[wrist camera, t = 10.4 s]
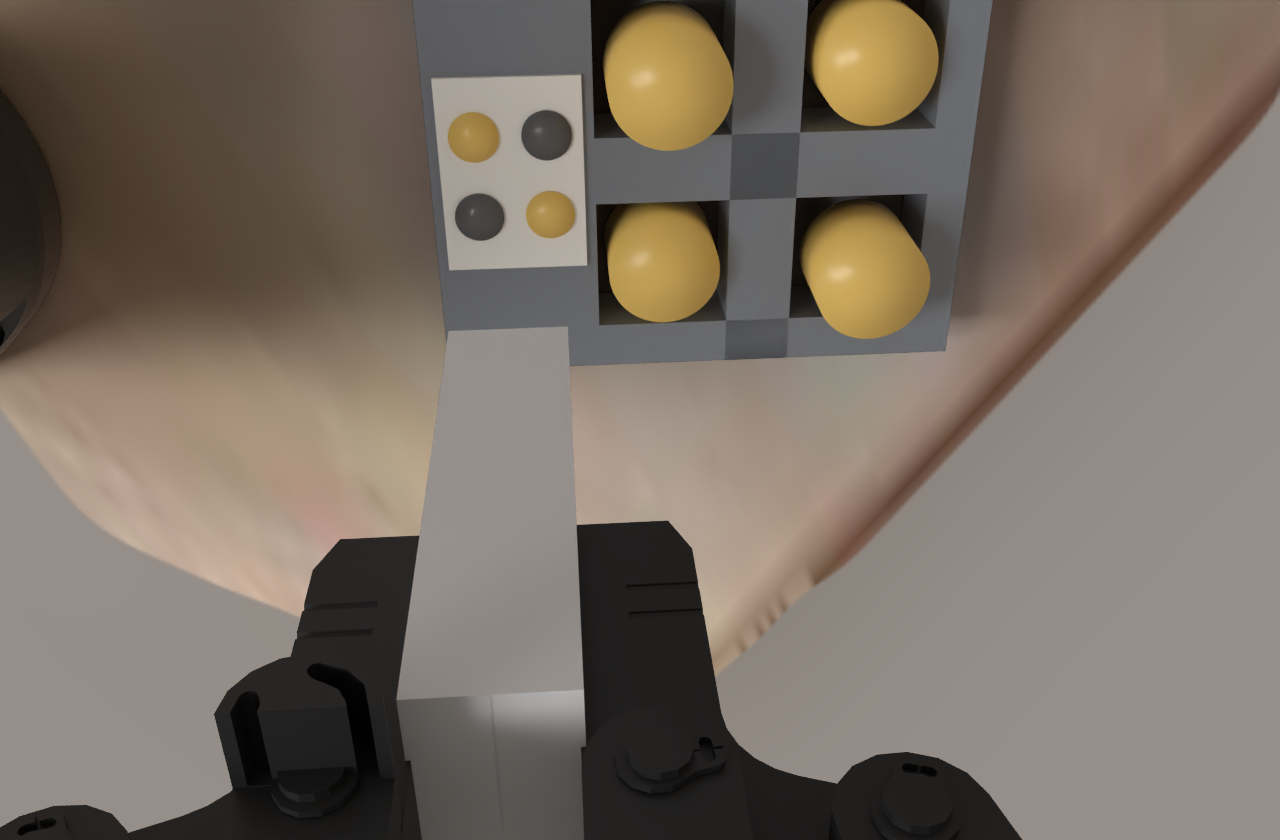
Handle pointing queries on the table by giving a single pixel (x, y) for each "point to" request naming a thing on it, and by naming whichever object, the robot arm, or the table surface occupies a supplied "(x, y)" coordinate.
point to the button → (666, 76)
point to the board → (673, 179)
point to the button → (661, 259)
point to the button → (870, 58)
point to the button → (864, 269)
